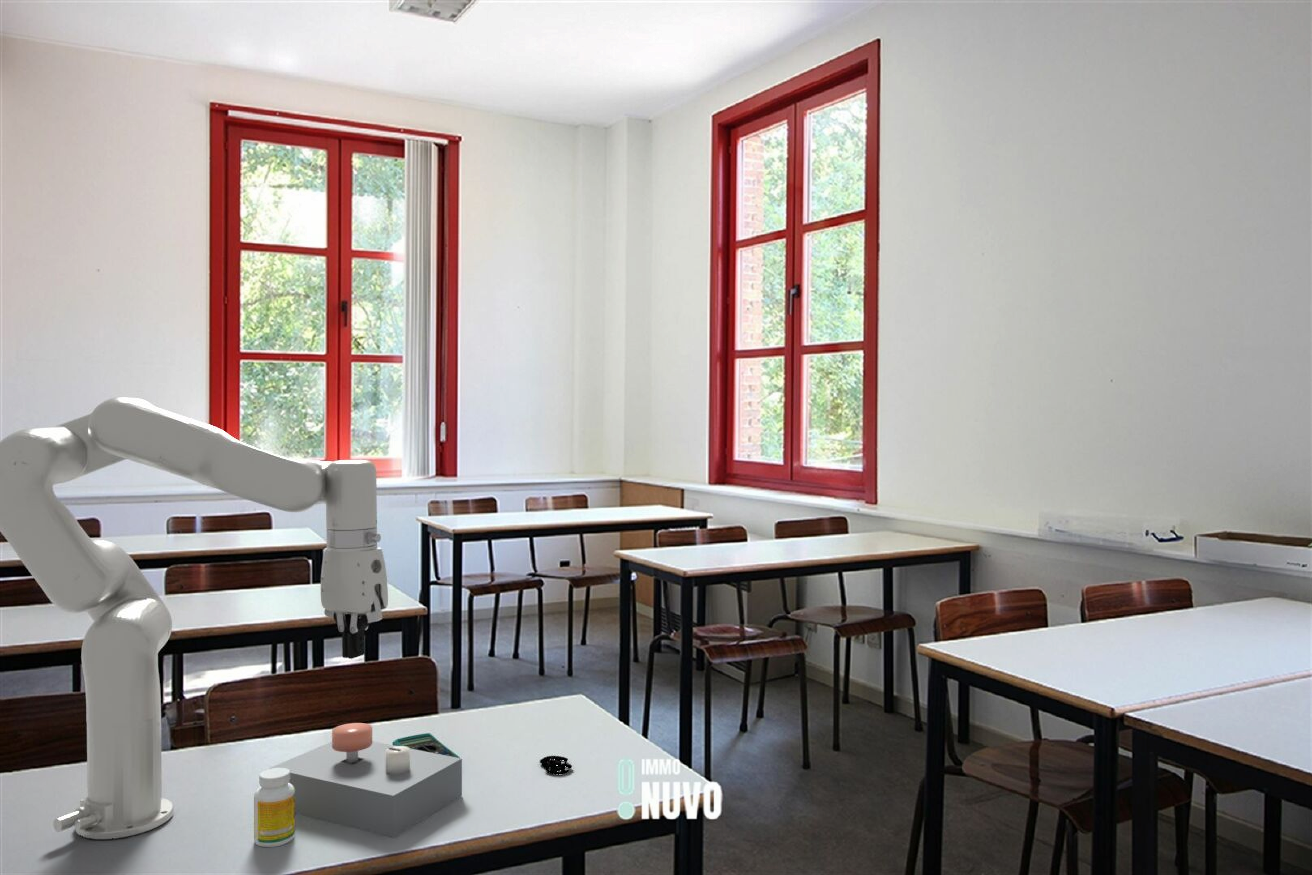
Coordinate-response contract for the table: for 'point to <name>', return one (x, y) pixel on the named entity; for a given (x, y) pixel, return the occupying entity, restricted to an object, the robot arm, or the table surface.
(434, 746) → the digital multimeter
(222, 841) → the table surface
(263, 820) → the supplement bottle
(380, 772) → the box
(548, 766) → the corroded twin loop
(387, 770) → the knob
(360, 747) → the button
